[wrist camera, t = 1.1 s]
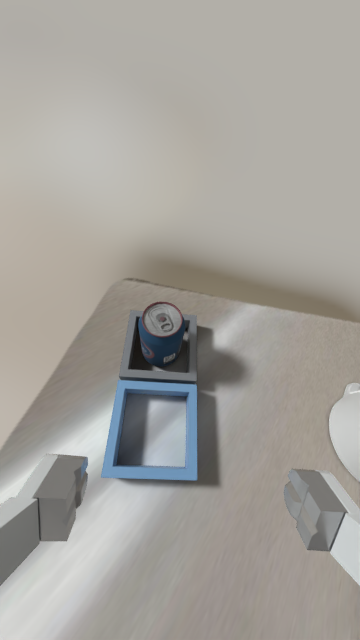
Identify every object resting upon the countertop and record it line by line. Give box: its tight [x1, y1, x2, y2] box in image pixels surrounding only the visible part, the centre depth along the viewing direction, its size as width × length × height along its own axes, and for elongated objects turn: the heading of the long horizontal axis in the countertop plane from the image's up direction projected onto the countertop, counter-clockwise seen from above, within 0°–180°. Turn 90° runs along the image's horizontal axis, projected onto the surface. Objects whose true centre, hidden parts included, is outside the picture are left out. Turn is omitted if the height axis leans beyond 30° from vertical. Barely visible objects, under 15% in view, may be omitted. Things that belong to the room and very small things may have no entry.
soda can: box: [138, 302, 185, 366], centre depth 36 cm, size 7×7×12 cm
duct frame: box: [101, 310, 197, 480], centre depth 36 cm, size 12×25×4 cm, turn 178°
